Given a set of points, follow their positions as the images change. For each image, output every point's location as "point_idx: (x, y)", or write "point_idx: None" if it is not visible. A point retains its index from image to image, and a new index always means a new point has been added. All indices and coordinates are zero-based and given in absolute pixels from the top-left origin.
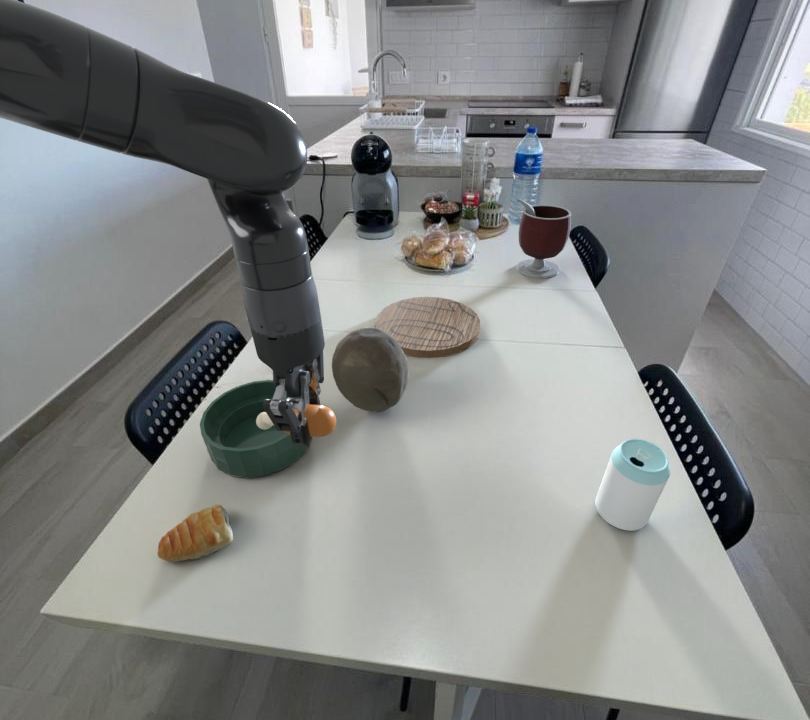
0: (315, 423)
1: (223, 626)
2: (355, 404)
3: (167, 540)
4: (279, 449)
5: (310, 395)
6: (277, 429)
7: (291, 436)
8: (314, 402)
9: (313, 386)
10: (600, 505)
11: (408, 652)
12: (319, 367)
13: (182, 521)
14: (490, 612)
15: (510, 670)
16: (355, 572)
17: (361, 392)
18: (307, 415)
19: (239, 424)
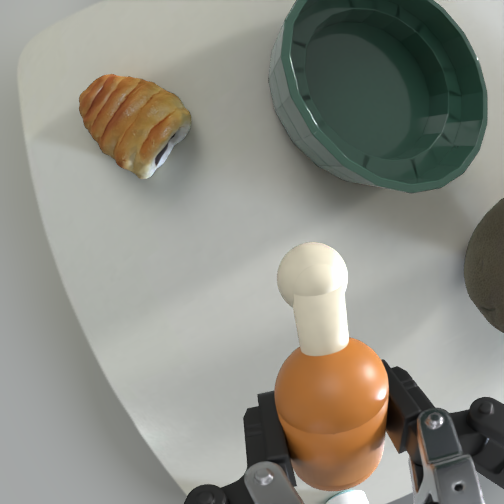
0: (303, 479)
1: (60, 250)
2: (471, 252)
3: (95, 92)
4: (338, 168)
5: (408, 446)
6: (187, 500)
7: (245, 436)
8: (393, 437)
9: (415, 498)
10: (341, 501)
11: (145, 428)
12: (491, 478)
13: (135, 81)
14: (214, 467)
15: (178, 478)
16: (189, 365)
17: (489, 285)
18: (321, 473)
19: (379, 31)
